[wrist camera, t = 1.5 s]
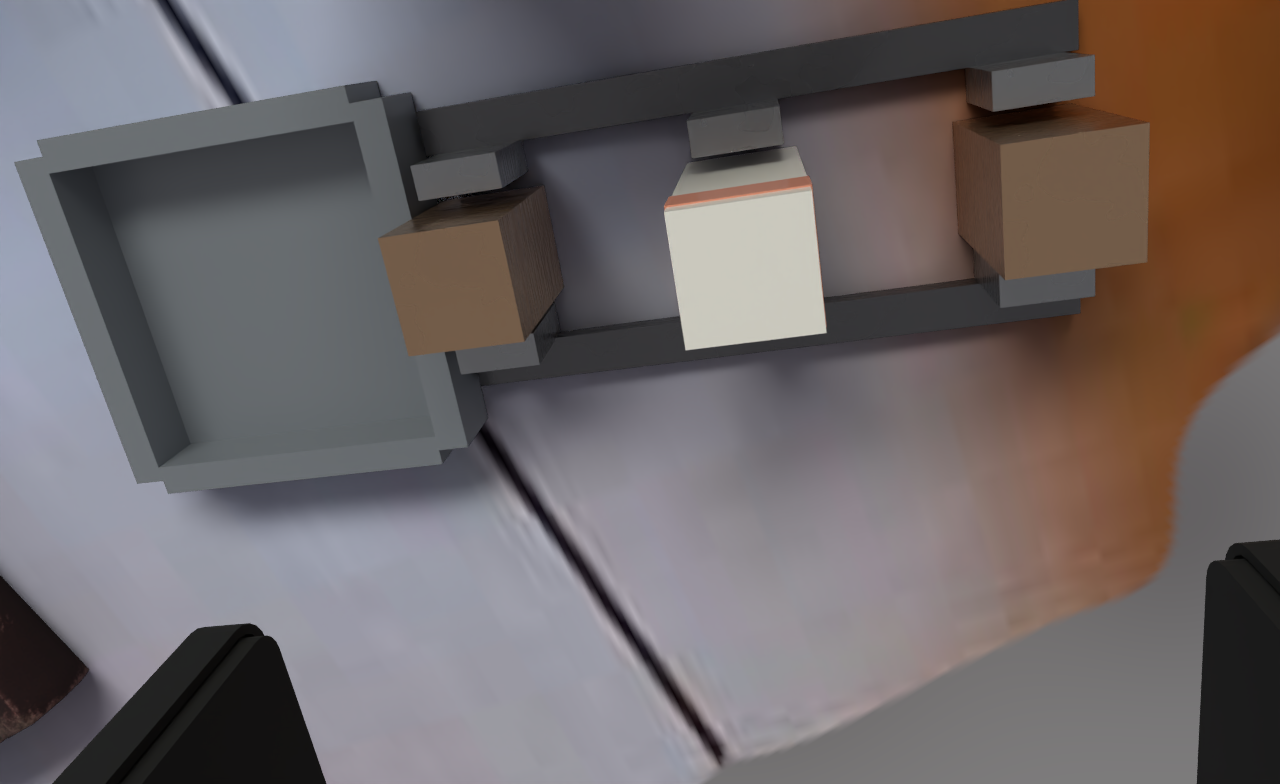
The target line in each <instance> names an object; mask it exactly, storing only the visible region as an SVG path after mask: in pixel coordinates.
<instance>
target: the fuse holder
mask: <svg viewBox="0 0 1280 784" xmlns="http://www.w3.org/2000/svg"><path fill="white" fill-rule="evenodd" d="M1073 50H1079V38H1078V0H1062V1H1056V2H1050V3H1044V4H1038V5H1032V6H1027V7H1021V8H1015V9H1009V10H1003V11H998V12H992V13H986V14H980V15H974V16H968V17H963V18H957V19H951V20H945V21H939V22H933V23H928V24H922V25H916V26H910V27H904V28H898V29H893V30H887V31H881V32H875V33H869V34H864V35H858V36H852V37H846V38H840V39H834V40H829V41H823V42H817V43H811V44H805V45H799V46H794V47H788V48H782V49H776V50H770V51H764V52H759V53H753V54H747V55H741V56H735V57H730V58H724V59H718V60H712V61H706V62H700V63H695V64H689V65H683V66H677V67H671V68H665V69H660V70H654V71H648V72H642V73H636V74H630V75H625V76H619V77H613V78H607V79H601V80H595V81H590V82H584V83H578V84H572V85H566V86H561V87H555V88H549V89H543V90H537V91H531V92H526V93H520V94H514V95H508V96H502V97H496V98H491V99H485V100H479V101H473V102H467V103H461V104H456V105H450V106H444V107H438V108H432V109H427V110H421V111H418V112H416V115H417V119H418V123H419V127H420V131H421V136H422V140H423V144H424V148H425V153H426V156H430V155H435V156H433V157H431V158H428V159H426V160H423V161H421V162H418V163H416V164H414V165H411V166H410V167H411V171H412V175H413V179H414V183H415V188H416V192H417V196H418V200H419V201H422V200H429V199H435V198H441V197H448V196H454V195H461V194H467V193H474V192H480V191H486V190H493V189H499V188H503V187H505V186H506V185H508V184H509V183H511V182H512V181H514V180H515V179H517V178H518V177H520V176H522V175H523V174H525V173H526V172H528V168H527V163H526V158H525V153H524V148H523V143H522V140H528V139H534V138H540V137H546V136H553V135H559V134H565V133H571V132H577V131H583V130H589V129H595V128H601V127H608V126H614V125H620V124H626V123H632V122H638V121H644V120H650V119H657V118H663V117H669V116H675V115H681V114H687V113H692V114H691V115H690V117H689V118H688V120H687V128H688V135H689V142H690V149H691V156H692V158H699V157H705V156H712V155H718V154H724V153H731V152H737V151H744V150H750V149H757V148H763V147H769V146H776V145H782V144H784V142H783V133H782V124H781V115H780V106H779V103H778V100H777V99H779V98H785V97H791V96H797V95H804V94H810V93H816V92H822V91H828V90H834V89H840V88H846V87H853V86H859V85H865V84H871V83H877V82H883V81H889V80H895V79H902V78H908V77H914V76H920V75H926V74H932V73H938V72H944V71H951V70H957V69H963V68H965V82H966V102H968V103H970V104H973V105H976V106H979V107H981V108H984V109H987V110H990V111H992V112H995V111H1001V110H1007V109H1014V108H1020V107H1027V106H1033V105H1040V104H1046V103H1053V102H1059V101H1065V100H1072V99H1078V98H1085V97H1091V96H1095V55H1089V54H1078V53H1066V52H1067V51H1073ZM1149 128H1150V123H1149V122H1145V121H1141V120H1137V119H1133V118H1129V117H1125V116H1121V115H1117V114H1113V113H1109V112H1104V111H1100V110H1096V109H1092V108H1088V107H1084V106H1080V105H1076V104H1072V103H1071V104H1065V105H1058V106H1052V107H1045V108H1039V109H1032V110H1026V111H1019V112H1013V113H1006V114H1000V115H994V116H987V117H981V118H974V119H968V120H961V121H955V122H953V139H954V159H955V178H956V198H957V218H958V233H959V234H960V235H961V236H962V237H963V238H964V239H965V240H966V241H967V242H968V243H969V244H970V245H971V246H972V247H973V256H974V277H975V278H974V279H966V280H958V281H951V282H943V283H935V284H927V285H920V286H912V287H904V288H896V289H889V290H881V291H873V292H865V293H857V294H850V295H842V296H834V297H826V298H824V305H825V315H826V325H827V327H826V332H827V333H823V334H815V335H806V336H798V337H790V338H782V339H774V340H766V341H758V342H749V343H741V344H733V345H725V346H717V347H709V348H701V349H692V350H685V344H684V337H683V331H682V325H681V318H680V316H679V317H671V318H663V319H656V320H648V321H640V322H632V323H624V324H617V325H609V326H601V327H593V328H586V329H578V330H570V331H562V332H561V331H560V326H559V321H558V316H557V311H556V307H555V303H553V301H554V300H555V299H556V297H557V296H558V295H559V293H560V292H561V290H562V289H563V288H564V284H563V279H562V274H561V269H560V263H559V258H558V253H557V248H556V243H555V238H554V233H553V228H552V223H551V218H550V213H549V208H548V203H547V198H546V193H545V188H544V185H541V186H535V187H529V188H522V189H516V190H509V191H503V192H496V193H490V194H483V195H477V196H470V197H464V198H457V199H451V200H445V201H442V202H441V203H439V204H437V205H435V206H434V207H432V208H430V209H428V210H427V211H425V212H423V213H421V214H420V215H418V216H416V217H414V218H413V219H411V220H409V221H407V222H406V223H404V224H402V225H400V226H399V227H397V228H395V229H393V230H392V231H390V232H388V233H386V234H384V235H383V236H381V237H379V238H378V241H379V245H380V249H381V253H382V256H383V260H384V264H385V268H386V272H387V276H388V279H389V283H390V287H391V291H392V295H393V299H394V302H395V306H396V310H397V314H398V318H399V321H400V325H401V329H402V333H403V337H404V341H405V344H406V348H407V352H408V356H417V355H425V354H433V353H440V352H448V351H455V352H456V356H457V360H458V364H459V368H460V372H461V374H469V373H478V376H479V380H480V385H481V386H484V385H492V384H501V383H509V382H517V381H525V380H534V379H542V378H550V377H559V376H567V375H575V374H583V373H592V372H600V371H608V370H616V369H625V368H633V367H641V366H649V365H658V364H666V363H674V362H683V361H691V360H699V359H707V358H716V357H724V356H732V355H740V354H749V353H757V352H765V351H773V350H782V349H790V348H798V347H807V346H815V345H823V344H831V343H840V342H848V341H856V340H864V339H873V338H881V337H889V336H898V335H906V334H914V333H922V332H931V331H939V330H947V329H955V328H964V327H972V326H980V325H988V324H997V323H1005V322H1013V321H1022V320H1030V319H1038V318H1046V317H1055V316H1063V315H1071V314H1079V313H1080V298H1085V297H1093V296H1095V269H1098V268H1105V267H1113V266H1121V265H1129V264H1137V263H1145V262H1147V243H1148V186H1149ZM436 154H438V155H436Z"/></svg>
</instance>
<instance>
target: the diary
mask: <svg viewBox="0 0 1280 784" xmlns="http://www.w3.org/2000/svg"><path fill="white" fill-rule="evenodd" d="M88 670H89V669H88V668H87V667H86V666H85V664H84V663H83V662H82V661H81V660H80V659H79V658H78V657H77V656H76V655H75V654H74V653H73V652H72V651H71V650H70V648H69V647H68V646H67V645H66V644H65V643H64V642H63V641H62V640H61V639H60V638H59V637H58V636H57V635H56V634H55V633H54V632H53V631H52V630H51V628H50V627H49V626H48V625H47V624H46V623H45V622H44V621H43V620H42V619H41V618H40V617H39V616H38V615H37V614H36V613H35V612H34V611H33V610H32V608H31V607H30V606H29V605H28V604H27V603H26V602H25V601H24V600H23V599H22V598H21V597H20V596H19V595H18V594H17V593H16V592H15V591H14V590H13V589H12V587H11V586H10V585H9V584H8V583H7V582H6V581H5V580H4V579H3V578H2V577H1V576H0V743H1V742H3V741H4V740H5V739H7V738H9V737H11V736H13V735H15V734H16V733H18V732H20V731H22V730H23V729H25V728H27V727H29V726H30V725H32V724H34V723H35V722H36V721H37V720H39V719H40V718H41V717H42V716H43V715H45V714H46V713H47V712H48V711H49V710H50V709H52V708H53V707H54V706H55V705H56V704H57V703H59V702H60V701H61V700H62V699H63V698H64V697H65V696H66V695H67V694H68V693H69V692H70V691H71V690H72V689H74V688H75V687H76V686H77V685H78V684H79V683H80V682H81V680H82V679H83V678H84V676H85V675H86V674H87V672H88Z"/></svg>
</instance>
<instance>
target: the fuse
mask: <svg viewBox="0 0 1280 784" xmlns="http://www.w3.org/2000/svg"><path fill="white" fill-rule="evenodd" d="M664 209H665V211H664V216H665V222H666V229H667V235H668V242H669V248H670V254H671V261H672V267H673V273H674V280H675V286H676V293H677V299H678V305H679V312H680V318H681V325H682V331H683V337H684V344H685V350H692V349H701V348H709V347H717V346H725V345H733V344H741V343H749V342H758V341H766V340H774V339H782V338H790V337H798V336H806V335H815V334H823V333H827V332H826V327H827V325H826V315H825V305H824V295H823V286H822V276H821V266H820V256H819V247H818V237H817V227H816V217H815V207H814V198H813V188H812V183H811V180H810V177H809V176H807V175H806V172H805V170H804V167H803V164H802V161H801V158H800V155H799V153H798V150H797V147H796V146H793V147H786V148H780V149H773V150H767V151H760V152H754V153H747V154H741V155H735V156H728V157H722V158H715V159H709V160H702V161H696V162H689V163H687V165H686V167H685V169H684V171H683V173H682V175H681V177H680V179H679V182H678V184H677V186H676V188H675V190H674V192H673V194H672V196H669V197H668V199H667V201H666V203H665V205H664Z"/></svg>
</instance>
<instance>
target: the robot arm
mask: <svg viewBox="0 0 1280 784" xmlns="http://www.w3.org/2000/svg"><path fill="white" fill-rule="evenodd" d="M1203 641H1204V642H1203V661H1202V662H1203V663H1202V683H1201V684H1202V685H1201V705H1200V727H1199V748H1198V770H1197V784H1280V540H1269V541H1258V542H1245V543H1235V544H1233V545H1232V546H1230V548H1229V550H1228V552H1227V554H1226V558H1225V560H1220V561H1213V562H1212V563H1210V565H1209V567H1208V570H1207V577H1206V596H1205V619H1204V640H1203ZM52 784H326V781H325V778H324V776H323V773H322V770H321V767H320V764H319V761H318V758H317V755H316V752H315V750H314V747H313V744H312V741H311V738H310V735H309V732H308V729H307V726H306V724H305V721H304V718H303V715H302V712H301V709H300V706H299V703H298V701H297V698H296V695H295V692H294V689H293V686H292V683H291V680H290V677H289V675H288V672H287V669H286V666H285V663H284V660H283V657H282V654H281V651H280V649H279V646H278V644H277V642H276V641H275V640H274V639H273V638H272V637H270V636H264V634H263V632H262V631H261V630H260V629H259V628H258V627H257V626H256V625H253V624H250V623H248V624H236V625H224V626H211V627H203V628H198V629H196V630H195V631H194V632H192V633H191V634H190V635H189V636H188V637H187V638H186V639H185V640H184V641H183V643H182V644H181V645H180V646H179V647H178V648H177V649H176V650H175V651H174V652H173V653H172V654H171V656H170V657H169V658H168V659H167V660H166V661H165V662H164V663H163V664H162V665H161V666H160V667H159V669H158V670H157V671H156V672H155V673H154V674H153V675H152V676H151V677H150V678H149V679H148V680H147V682H146V683H145V684H144V685H143V686H142V687H141V688H140V689H139V690H138V691H137V692H136V693H135V695H134V696H133V697H132V698H131V699H130V700H129V701H128V702H127V703H126V704H125V705H124V706H123V708H122V709H121V710H120V711H119V712H118V713H117V714H116V715H115V716H114V717H113V718H112V719H111V721H110V722H109V723H108V724H107V725H106V726H105V727H104V728H103V729H102V730H101V731H100V732H99V734H98V735H97V736H96V737H95V738H94V739H93V740H92V741H91V742H90V743H89V744H88V745H87V747H86V748H85V749H84V750H83V751H82V752H81V753H80V754H79V755H78V756H77V757H76V758H75V760H74V761H73V762H72V763H71V764H70V765H69V766H68V767H67V768H66V769H65V770H64V771H63V773H62V774H61V775H60V776H59V777H58V778H57V779H56V780H55V781H54V782H53V783H52Z"/></svg>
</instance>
